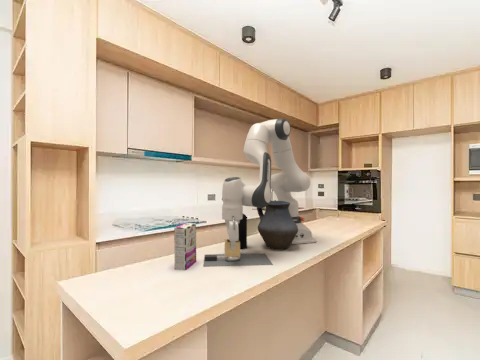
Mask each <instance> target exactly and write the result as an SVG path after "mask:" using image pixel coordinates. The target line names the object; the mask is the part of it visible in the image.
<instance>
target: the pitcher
mask: <svg viewBox="0 0 480 360" xmlns="http://www.w3.org/2000/svg"><path fill="white" fill-rule="evenodd" d="M289 205H290V202H285V201H278V200H271V201H270V203H269V204H268V205H267V206H266V207H265V211H264V212H263V208H258V207H256V210H257V214H258V217H259V223H258V225H257V230H258V233H259V235H260V236H261V238H262V240H263V242H264V244H265V245H266V247H267V248H269V249H271V250H281V251H282V250H287V249H289V248H290V246H291V245H292V244H291V243H292V241H293V239H294V238H295V236H296V234H297V232H298V227H297V225H296V223H295V222H294V221H293V219H292V217H291V215H290V212H289V209H288V208H289Z"/></svg>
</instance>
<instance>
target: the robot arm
mask: <svg viewBox="0 0 480 360" xmlns="http://www.w3.org/2000/svg"><path fill="white" fill-rule="evenodd" d="M290 134H291V124H290V122H289V121H288V120H287V119H286V118H276V119H275V118H274V119H268V120H266V121H262V122H256V123H254V124H253V125H251V126H250V128H249V130H248V133H247V135H246V139H245V142H244V145H243V154H244V156H245V158H246V159H247V160H248V161H249V162H251V163H252V164H255V165H257V166H259V177H258V183H257V184H246V183H244V182H243V181H242V178H241V177H238V176H233V177H231V176H230V177H227V178H225V179H224V180H223V183H222V189H221V190H222V193H221V195H222V196H221V199H222V207H221V219H222V220H224V222H225V227H226V232H227V236H228V239H229V240H230V241H231V250H235V245H236V241H238V239H239V229H238V223H240V220H241V219H243V214H244V212H243V211H244V210H243V207H244V206H245V207H253V208H257V207H258V208H262V209H266V206H267V205H268V204H269V203H270V201H272V191H273V192H274V194H275V196H276V199H277V201H285V202H290V205H289V208H288V209H289V212H290V215H291V217H292V219H293V221H294V222H295V223H296V225H297V227H298V232H297V234H296V236H295V238H294V239H293V241H292V243H291V245H300V244H312V243H314V244H315V243H317V239H316V238H315V237H314V236H313V234H312V230H311V229H310V228H309V227H308V226H306V224H304V223H303V222H304V221H305V218H304V217H301V216H300V215H299V202H298V200H296V199H295V198H293V196H292V193H300V192H305V191H308V189H309V188H310V186H311V178H310V177H309V175H308V174H307V173H305V172H304V171H303V170H302V169H301V168H300V167H299V165H298V164H297V162H296V159H295V155H294V152H293V146H292V143H291V139H290ZM269 143H270V145H271V147H270V148H271V152H272V157H273V161H274V165H275V166H276V167H277V168H278V169H280V170H281V171H282V172H278V173H274V174H272V159H271V158H272V157H271V154H270V153H269V152H268V145H269Z"/></svg>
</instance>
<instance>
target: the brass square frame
mask: <svg viewBox="0 0 480 360" xmlns="http://www.w3.org/2000/svg"><path fill="white" fill-rule="evenodd" d="M224 254H225V257H240V254H241V250H240V241H239V239H238V241H236V245H235V250H231V241H230V240H229V238H226V239H224Z"/></svg>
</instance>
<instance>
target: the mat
mask: <svg viewBox="0 0 480 360" xmlns="http://www.w3.org/2000/svg"><path fill="white" fill-rule="evenodd" d="M224 254H225V253H221V254H220V253H218V254H216V253H215V254H213V253H212V254H207V255H217V256H223V255H224ZM243 266H244V267H246V266H247V267H248V266H253V267H254V266H274V264H273V262H272V261H271V259H270V258H269V256H268V255H267V254H266V253H265V252H261V253H259V252H258V253H254V252H253V253H240V261H237V262H227V261H205V255H204V256H203V264H202V268H209V267H210V268H213V267H214V268H215V267H243Z"/></svg>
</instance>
